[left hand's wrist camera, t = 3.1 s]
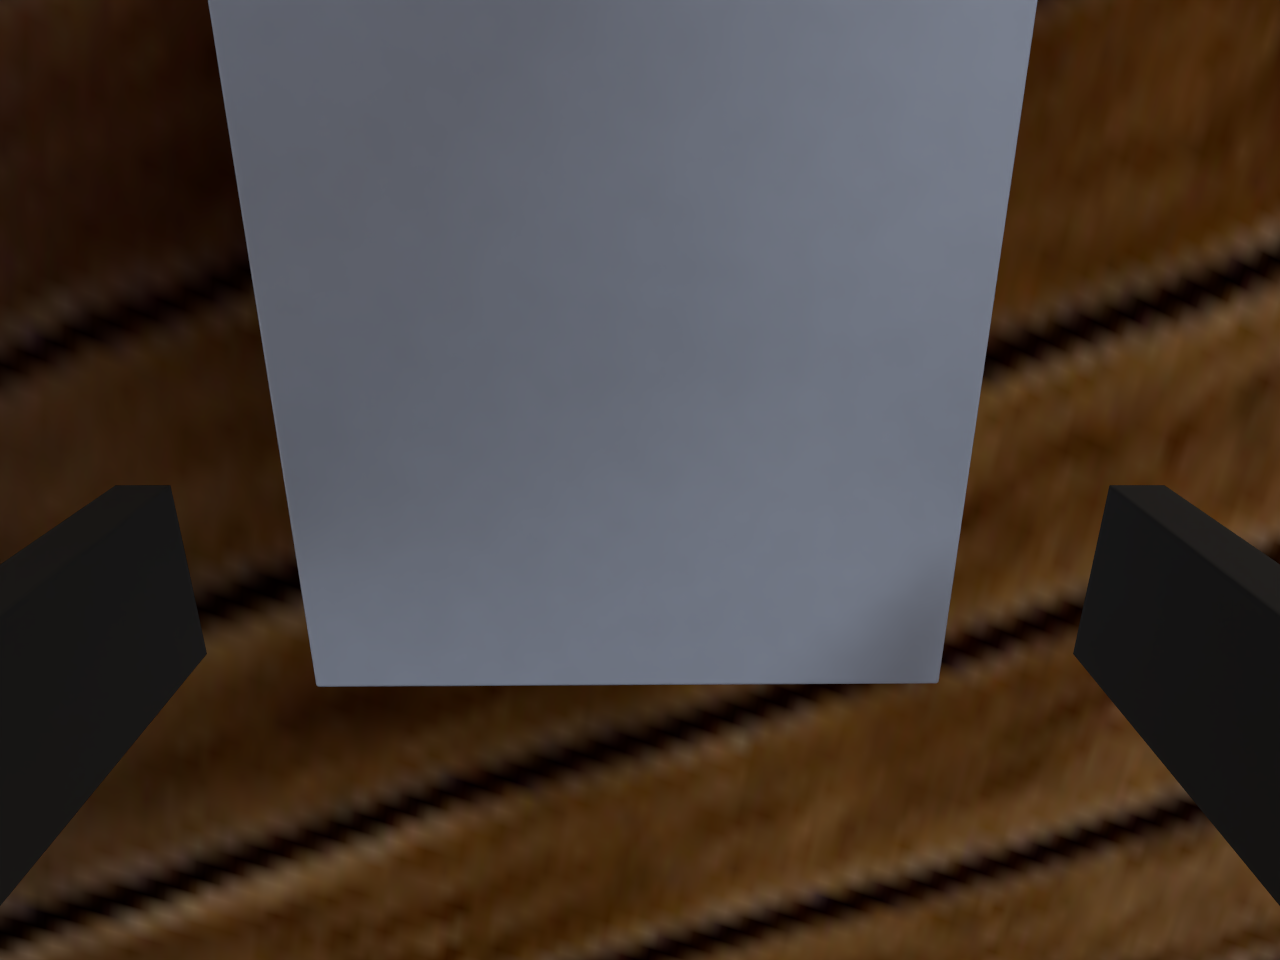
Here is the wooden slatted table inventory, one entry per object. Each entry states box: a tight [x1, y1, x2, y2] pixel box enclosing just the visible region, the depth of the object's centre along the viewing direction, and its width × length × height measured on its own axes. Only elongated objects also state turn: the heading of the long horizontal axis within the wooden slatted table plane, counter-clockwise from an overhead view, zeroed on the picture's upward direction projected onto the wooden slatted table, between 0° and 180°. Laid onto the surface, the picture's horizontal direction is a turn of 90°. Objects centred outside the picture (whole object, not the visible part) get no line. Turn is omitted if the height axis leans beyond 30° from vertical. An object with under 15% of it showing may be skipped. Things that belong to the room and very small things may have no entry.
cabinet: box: [208, 0, 1037, 687], centre depth 17 cm, size 18×11×9 cm, turn 0°
